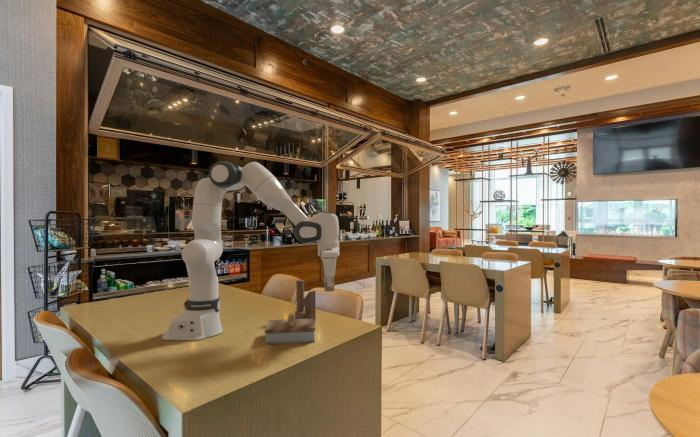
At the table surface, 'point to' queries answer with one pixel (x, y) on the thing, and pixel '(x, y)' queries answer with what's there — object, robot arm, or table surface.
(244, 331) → the table surface
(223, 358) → the table surface
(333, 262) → the robot arm
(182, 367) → the table surface
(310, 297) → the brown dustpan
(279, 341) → the grey shallow tray
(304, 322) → the lid
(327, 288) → the beige block
